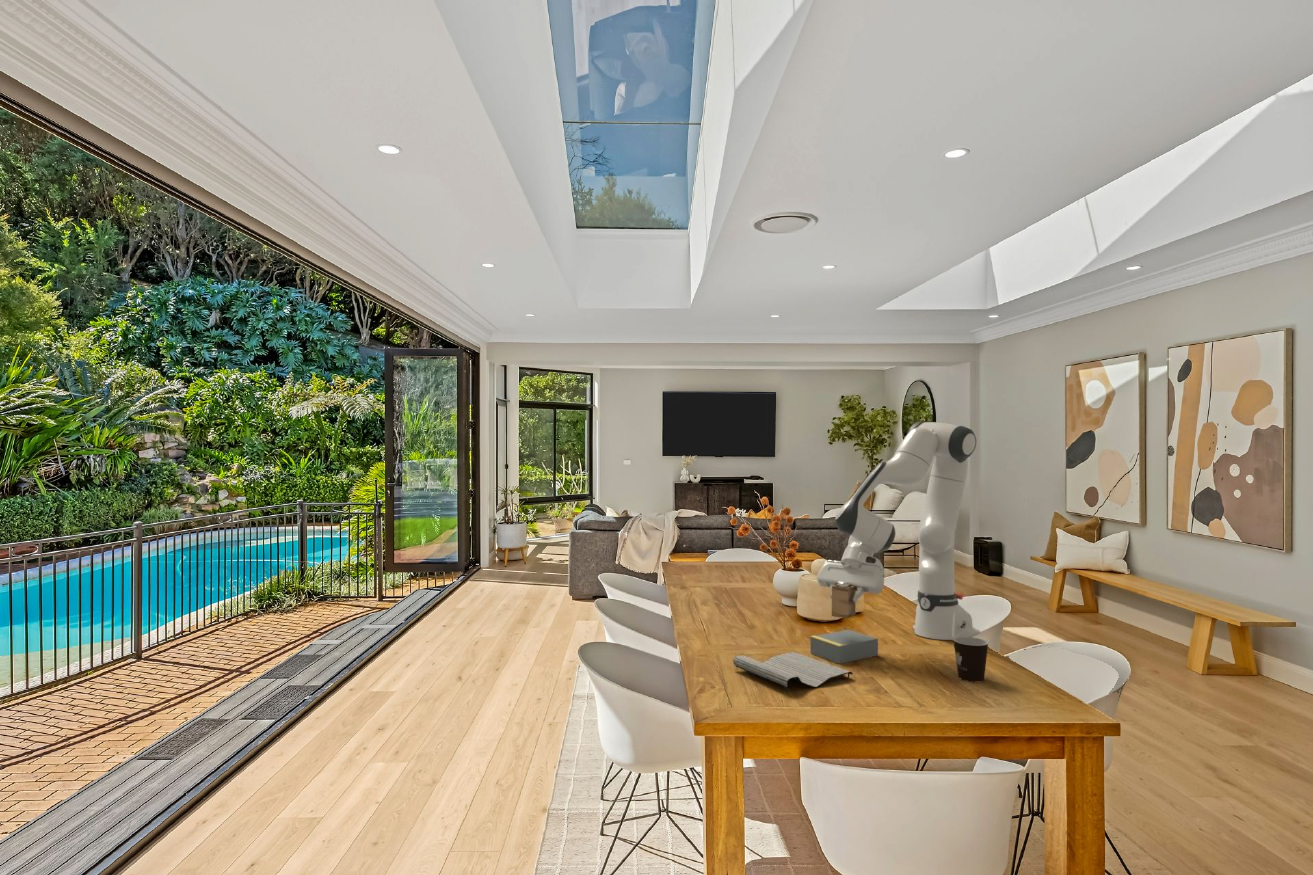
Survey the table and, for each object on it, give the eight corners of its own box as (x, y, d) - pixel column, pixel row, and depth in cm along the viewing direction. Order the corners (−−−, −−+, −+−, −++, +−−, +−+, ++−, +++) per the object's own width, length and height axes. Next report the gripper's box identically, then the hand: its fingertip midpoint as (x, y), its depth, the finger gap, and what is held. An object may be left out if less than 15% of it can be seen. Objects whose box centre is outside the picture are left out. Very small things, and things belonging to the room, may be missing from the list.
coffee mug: (990, 684, 178) (990, 646, 178) (955, 681, 181) (954, 643, 181) (984, 671, 189) (984, 635, 190) (951, 668, 192) (950, 632, 192)
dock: (848, 645, 215) (848, 628, 215) (878, 655, 204) (877, 637, 204) (810, 653, 207) (810, 636, 207) (839, 663, 196) (839, 645, 196)
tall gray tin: (839, 612, 209) (839, 583, 210) (855, 614, 206) (855, 585, 206) (831, 615, 205) (831, 586, 205) (847, 618, 202) (847, 588, 202)
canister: (843, 587, 208) (843, 581, 208) (851, 589, 205) (851, 582, 205) (835, 588, 206) (835, 582, 206) (843, 590, 203) (843, 583, 203)
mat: (853, 681, 183) (853, 663, 183) (787, 697, 171) (787, 678, 171) (795, 658, 203) (795, 642, 203) (732, 671, 191) (732, 654, 191)
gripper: (821, 553, 218) (808, 588, 210) (884, 560, 205) (872, 598, 197) (827, 565, 221) (814, 600, 213) (889, 573, 208) (878, 610, 201)
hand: (842, 599), depth 205 cm, fingers closed on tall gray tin, 5 cm apart
